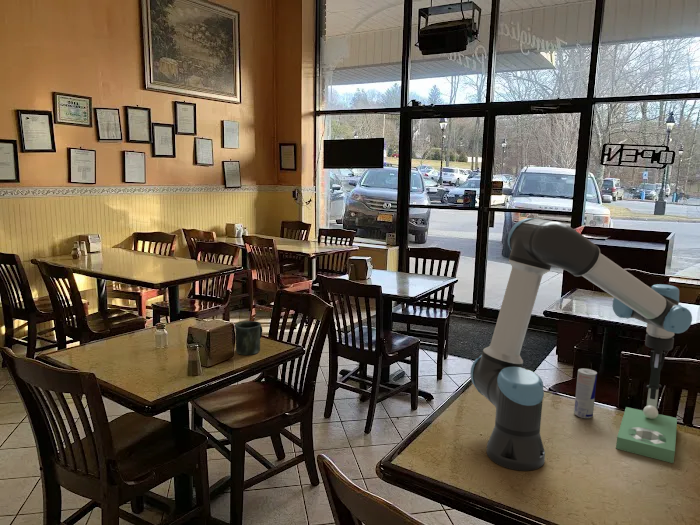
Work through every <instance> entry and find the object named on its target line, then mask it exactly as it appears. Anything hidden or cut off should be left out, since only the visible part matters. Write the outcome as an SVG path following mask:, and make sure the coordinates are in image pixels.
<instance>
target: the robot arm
mask: <svg viewBox="0 0 700 525" xmlns="http://www.w3.org/2000/svg"><path fill="white" fill-rule="evenodd" d="M507 246H508V248H509V250H510V254H509V257H508V262H509V264H510V266H511V269H510V270H511V271H510V274H509V278H508V280H507V285H506V289H505V292H504V295H503V299H502V302H501V305H500V308H499V309H500V310H499V312H498V317H497V319H496V324H495V326H494V331H493V334H492V337H491V340H490V343H489V346H487V347H485V348H483V350H482V353H481V355H479V357H478V358H476V359H475V360H474V361H473V362H472V365H471V368H470V379H471V384H472V385H473V386H474V388H475V389H476V390H477V392H478V393H479V394H480V395H482V396H483V397H484V398H486V399H487V400H488V401H489V402H490V404H492V405H493V406H495V421H494V422H495V423H494V428H493V430H491V431H492V432H491V435H490V436H489V439H488V440H487V443H486V454H487V457H488V458H489V459H490V460H491V461H492V462H494V463H495V464H497V465H499V466H501V467H504V468H506V469H510V470H514V471H527V472H528V471H533V470H534V471H535V470H537V469H539V468H541V467H543V466H544V464H545V459H546V452H545V448H544V444H543V441H542V436H541V423H542V411H543V400H544V397H545V395H544V394H545V393H544V381H543V379H542V378H541V376H539V375H538V373H536V372H534V371H532V370H530V369H526V368H525V367H523V364H524V360H523V359H522V357H521V351H522V349H523V348H522V347H523V345H524V342H525V341H524V340H525V337H526V333H527V331H528V327H529V323H530V320H531V317H532V313H533V309H534V307H535V304H536V298H537V296H538V292H539V289H540V286H541V281H542V280H543V279H542V278H543V276H544V275H545V274H547V273H548V272H550V271H551V267H552V266H553V267H556V268H558V269H559V268H560V269H562V270H564V271H567V272H568V273H570V274H571V275H573V276H574V277H583V278H584V279H586V280H588V282H590V283H592V285H593V284H594V285H595V286H597V287H598V288H600V289H601V290H602V291H604V292H605V293H607V294H609V295H610V296H612V297H613V300H612V310H613V312H614V314H615V316H616V317H617V318H621V319H635V320H638V321H641V322H643V323H646V330H645V331H646V334H645V341H644V344H645V347H648V348H650V349H653V350H651V351H650V354H649V359H650V363H649V367H650V377H649V384H646V388H647V389H648V390H647V391H648V392H647V399H646V406H648V405H651V406H654V407H655V408H656V409H658V408H657V407H658V398H659V389H660V388H662V384H660V382H661V381H660V378H661V370H663V368H664V362H665V358H666V353H665V352H663V351H672V350H673V349H674V343H675V338H674V336H675V334H682V333H684V332H686V331H688V329H689V328H690V326H691V325H692V322H693V316H692V312H691V311H690V310H689V309H688V308H687V307H684V306H682V305H681V304H680V289H679V288H678V287H677V286H676V285H675V286H674V285H670V284H664V283H663V284H662V283H659V284H658V283H657V284H653V285H651V286H649V285H647V284H645V283H644V282H643V281H641V280H640V279H639V278H637V277H635V276H634V275H633V274H632V273H630V272H628V271H627V270H626V269H624V268H622V267H621V266H620V265H619V264H617V263H615V262H614V261H613V260H612V259H610V258H608V256H605V255H604V254H602V253H601V249H600V247H599V246H598V245H597V244H595V243H594V242H592V241H591V240H590V239H588V238H586V237H585V236H584V235H583V234H582V233H580V232H579V231H577V230H575V229H574V228H572V227H571V226H569V225H568V224H565V223H564V222H560V221H552V220H548V219H542V218H538V217H533V218H532V217H531V218H530V217H529V218H523V219H521V220H518V222H516V223H514V225H513V226H512V227H511V229H510V230H509V232H508V236H507Z"/></svg>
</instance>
